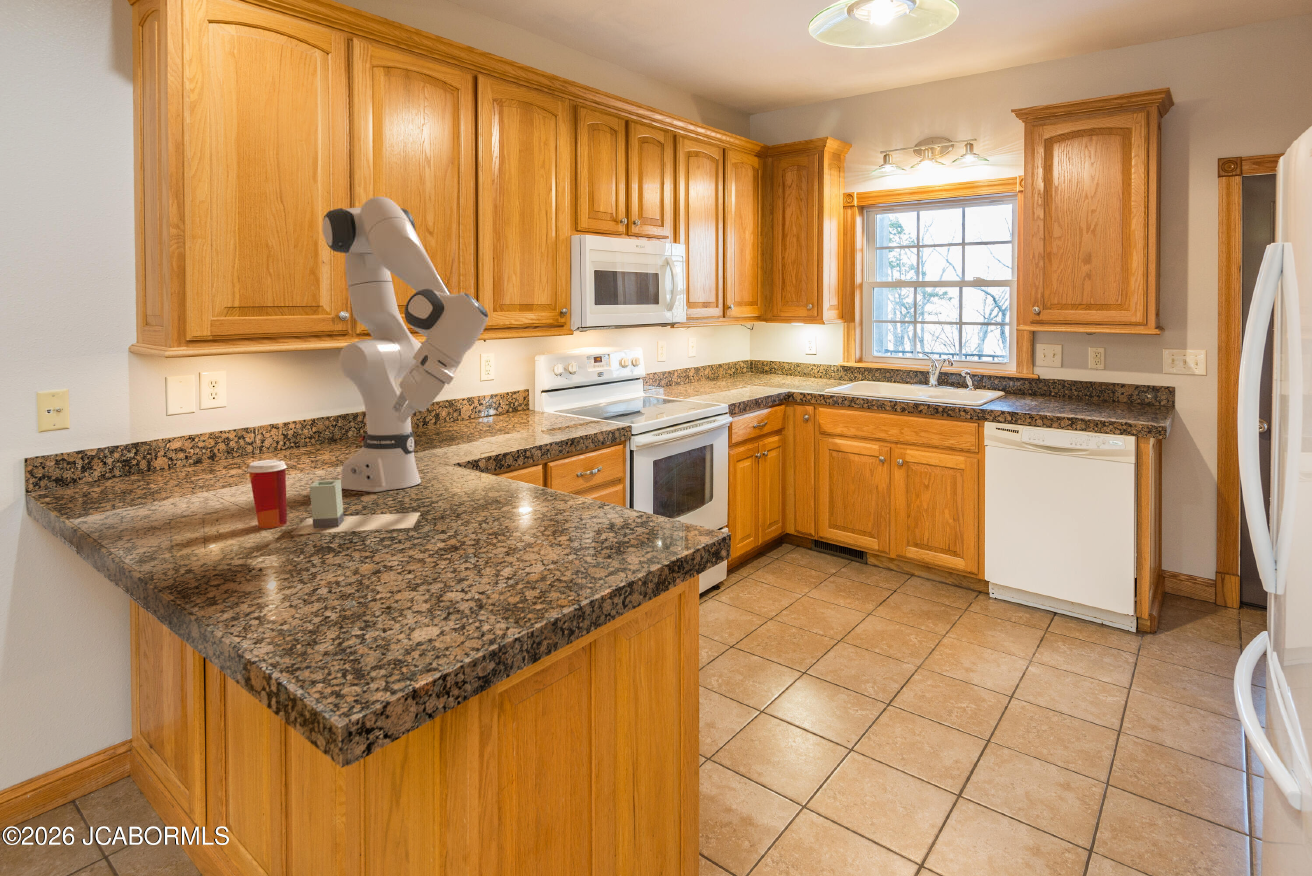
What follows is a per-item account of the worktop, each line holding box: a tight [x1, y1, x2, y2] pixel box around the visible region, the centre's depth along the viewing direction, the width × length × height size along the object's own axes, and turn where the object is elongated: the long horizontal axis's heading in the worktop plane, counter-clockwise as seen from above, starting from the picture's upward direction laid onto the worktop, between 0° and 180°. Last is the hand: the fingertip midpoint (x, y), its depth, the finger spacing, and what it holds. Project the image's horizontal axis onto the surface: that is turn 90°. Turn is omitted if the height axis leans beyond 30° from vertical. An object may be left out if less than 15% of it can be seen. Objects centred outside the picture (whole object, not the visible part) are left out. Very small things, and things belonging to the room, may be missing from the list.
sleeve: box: [309, 479, 345, 528], centre depth 161 cm, size 5×5×9 cm
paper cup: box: [247, 459, 288, 530], centre depth 166 cm, size 8×8×14 cm
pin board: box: [290, 512, 421, 535], centre depth 162 cm, size 24×12×6 cm, turn 100°
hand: (397, 416), depth 163 cm, fingers open, 8 cm apart
